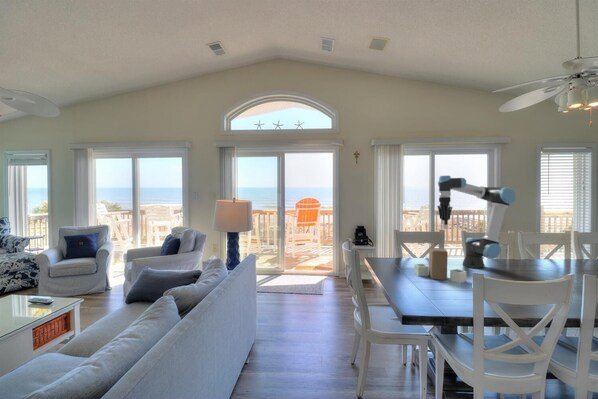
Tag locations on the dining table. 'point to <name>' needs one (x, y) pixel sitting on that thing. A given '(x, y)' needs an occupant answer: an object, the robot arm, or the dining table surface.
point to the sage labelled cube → (420, 269)
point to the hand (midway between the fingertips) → (444, 229)
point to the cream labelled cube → (458, 275)
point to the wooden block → (438, 263)
